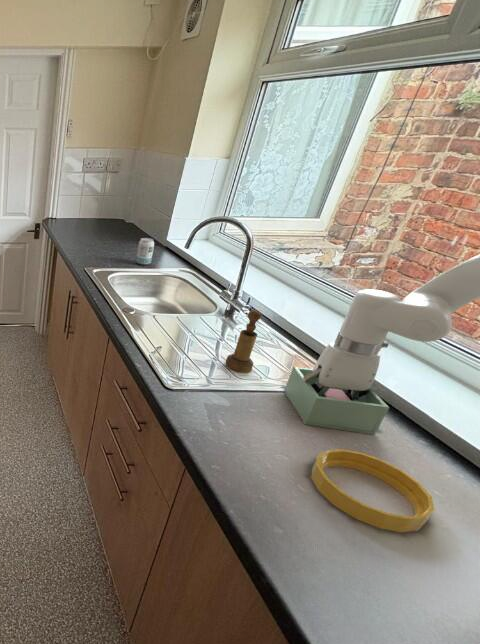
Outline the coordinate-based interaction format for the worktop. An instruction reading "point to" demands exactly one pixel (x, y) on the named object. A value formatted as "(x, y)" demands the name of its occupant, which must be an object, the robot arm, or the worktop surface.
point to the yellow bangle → (382, 471)
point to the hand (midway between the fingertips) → (328, 407)
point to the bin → (334, 406)
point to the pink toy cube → (336, 394)
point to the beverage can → (145, 251)
